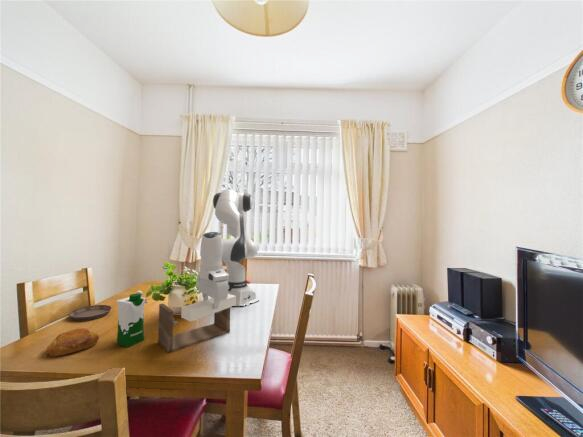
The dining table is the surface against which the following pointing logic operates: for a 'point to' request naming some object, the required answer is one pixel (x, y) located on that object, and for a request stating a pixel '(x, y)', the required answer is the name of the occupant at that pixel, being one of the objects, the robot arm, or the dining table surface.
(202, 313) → the shelf board
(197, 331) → the shelf frame
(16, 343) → the dining table surface
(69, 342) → the croissant
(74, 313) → the plant saucer
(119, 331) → the milk carton
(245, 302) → the robot arm
